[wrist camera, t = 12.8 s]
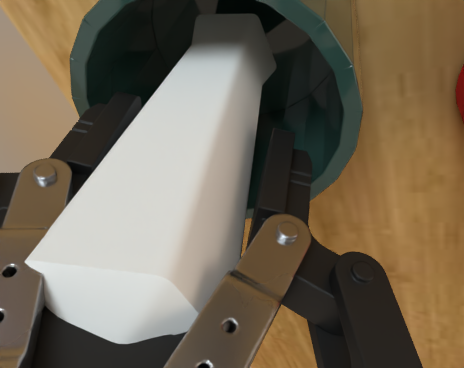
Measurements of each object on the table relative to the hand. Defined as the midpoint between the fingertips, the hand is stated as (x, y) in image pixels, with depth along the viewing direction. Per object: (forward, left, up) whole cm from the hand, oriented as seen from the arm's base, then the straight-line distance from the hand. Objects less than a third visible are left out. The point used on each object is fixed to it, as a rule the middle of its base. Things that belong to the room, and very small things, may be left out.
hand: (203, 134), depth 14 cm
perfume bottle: (0, 0, -6) cm, 6 cm away
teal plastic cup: (-1, +2, -9) cm, 9 cm away
